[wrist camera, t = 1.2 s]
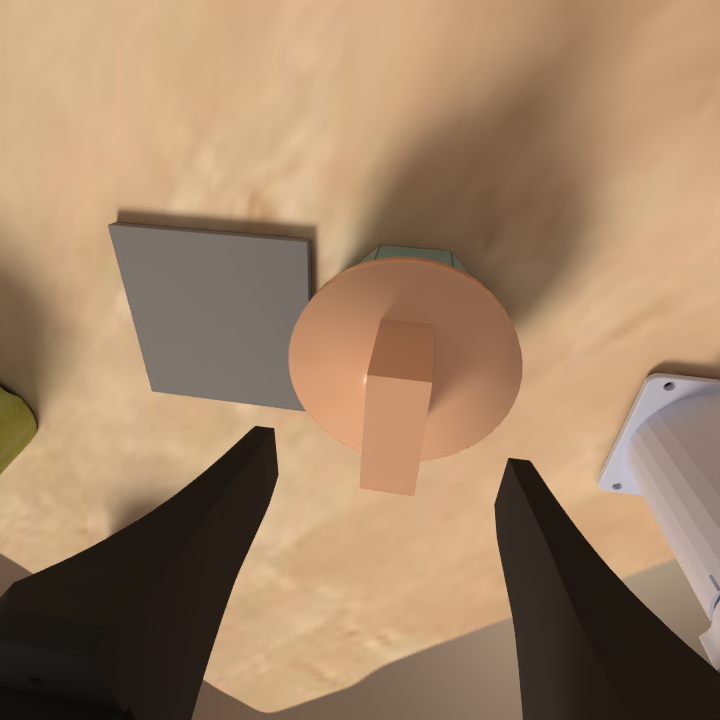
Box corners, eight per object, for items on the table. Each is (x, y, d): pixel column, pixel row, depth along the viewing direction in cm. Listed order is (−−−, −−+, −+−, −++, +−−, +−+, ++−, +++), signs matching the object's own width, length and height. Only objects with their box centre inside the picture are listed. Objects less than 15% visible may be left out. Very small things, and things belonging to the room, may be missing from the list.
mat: (310, 239, 20) (307, 242, 19) (313, 405, 25) (310, 412, 25) (115, 222, 21) (107, 224, 20) (157, 385, 26) (152, 391, 26)
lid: (547, 268, 15) (589, 328, 11) (492, 462, 20) (506, 552, 16) (288, 245, 16) (239, 292, 12) (297, 435, 21) (264, 513, 17)
